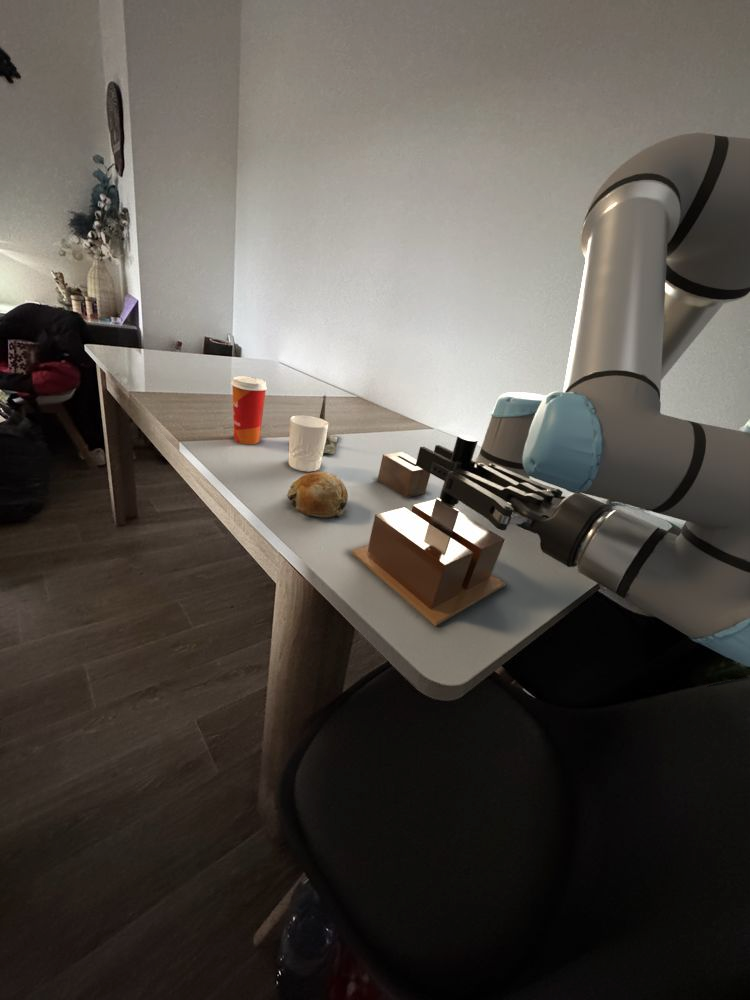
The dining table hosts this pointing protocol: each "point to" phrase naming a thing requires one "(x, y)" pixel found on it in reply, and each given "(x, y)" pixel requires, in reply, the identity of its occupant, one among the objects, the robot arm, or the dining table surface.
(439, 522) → the knife
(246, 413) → the paper cup
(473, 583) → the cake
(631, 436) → the robot arm
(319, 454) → the white cup
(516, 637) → the dining table surface
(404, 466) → the knife block
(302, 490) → the bread roll
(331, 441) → the eiffel tower figurine
